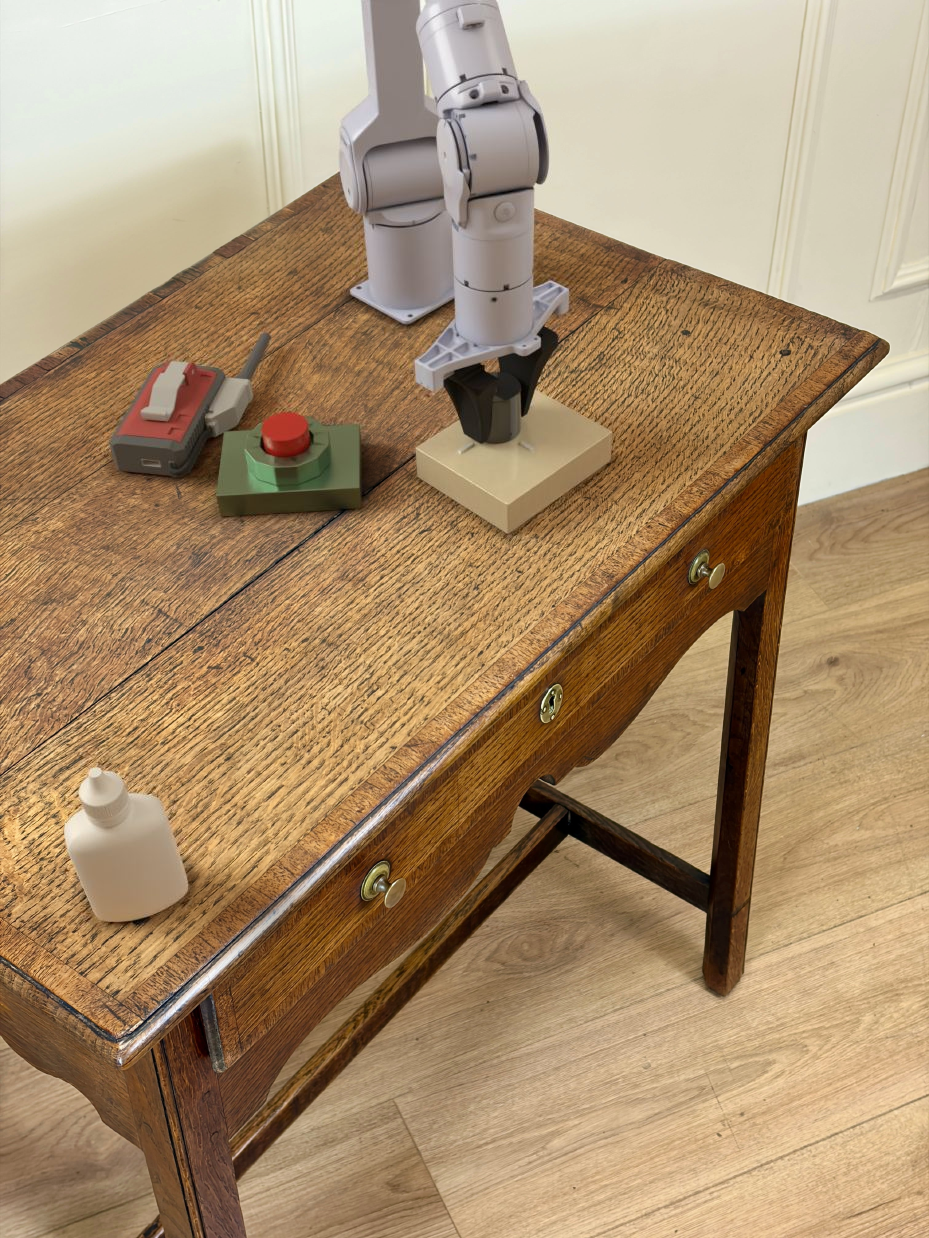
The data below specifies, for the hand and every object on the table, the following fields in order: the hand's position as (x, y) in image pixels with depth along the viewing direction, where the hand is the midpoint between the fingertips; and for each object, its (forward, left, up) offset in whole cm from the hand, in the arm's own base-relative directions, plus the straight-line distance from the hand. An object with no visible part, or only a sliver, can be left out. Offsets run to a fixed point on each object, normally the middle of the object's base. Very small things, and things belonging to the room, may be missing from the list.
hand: (495, 423), depth 103 cm
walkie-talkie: (+13, -23, -4) cm, 27 cm away
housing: (+13, -10, -3) cm, 17 cm away
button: (+13, -10, 0) cm, 16 cm away
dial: (0, 0, 0) cm, 0 cm away
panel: (0, +2, -3) cm, 4 cm away
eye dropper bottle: (+44, +13, -4) cm, 46 cm away
